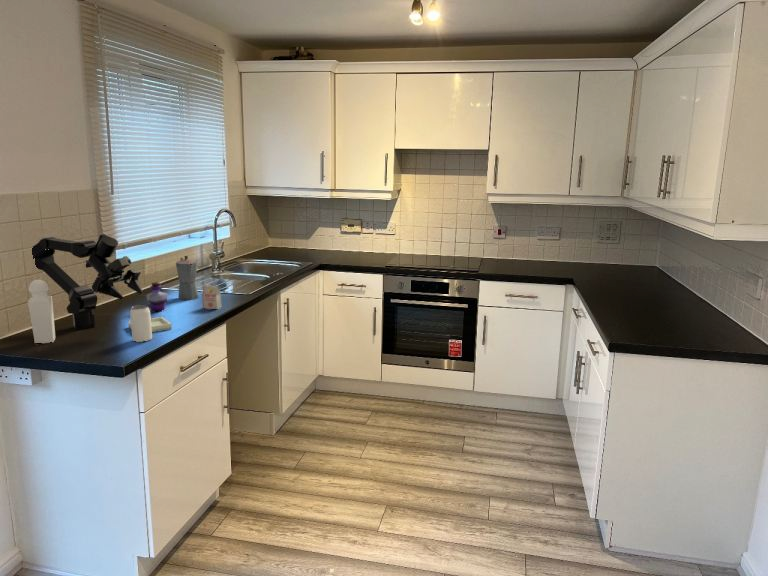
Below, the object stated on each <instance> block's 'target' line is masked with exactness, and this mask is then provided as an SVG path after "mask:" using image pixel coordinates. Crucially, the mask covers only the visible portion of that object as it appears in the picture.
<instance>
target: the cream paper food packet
mask: <svg viewBox="0 0 768 576" xmlns="http://www.w3.org/2000/svg"><path fill="white" fill-rule="evenodd" d="M201 297H202V309H203V308H205V309H204V310H211V309H218V310H220V309H222V308H221V307H223V306H222V294H221V291H220V287H219V286H218V285H207V284H206V285H203V290H202V296H201ZM219 308H220V309H219Z"/></svg>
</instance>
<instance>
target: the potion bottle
mask: <svg viewBox="0 0 768 576" xmlns="http://www.w3.org/2000/svg"><path fill="white" fill-rule="evenodd" d="M162 288H163V285H161V282H159V281H157V282H152V283H151V285H150V290H152V292H150V293H147V294H146V295H145V297H146V300H147V302H148V306H149V307H150V308H149V309H150V312H153V311H160V312H163V311H162V310H164V309H165V310H166V303H167V302H168V295H169V294H168V293H166V292H162V291H161V289H162ZM165 310H164V311H165Z"/></svg>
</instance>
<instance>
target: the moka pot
mask: <svg viewBox="0 0 768 576" xmlns="http://www.w3.org/2000/svg"><path fill="white" fill-rule="evenodd" d="M188 257H189V256H188V255H185V256H184V258H183V257H180V259H179V260H177V261H176V263H175V266H176V272H177V276H178V280H179V285H178V297H177V298H178V299H179V300H180V301H181V300H182V301H192V300H195V299H196V298H197V299H198V298H199V297H200V295H199V290H198V286H197V281H196V280H197V279H196V277H197V266H198V261H197V260H195V259H188Z"/></svg>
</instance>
